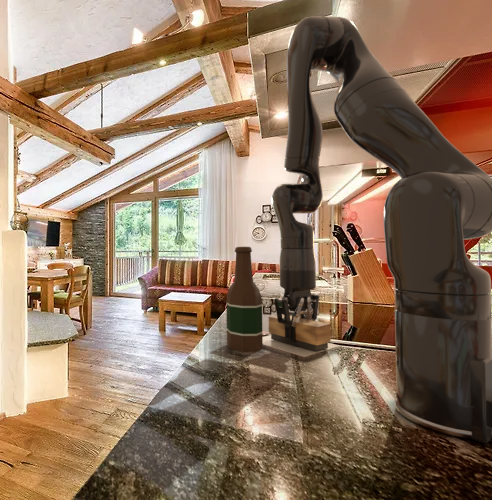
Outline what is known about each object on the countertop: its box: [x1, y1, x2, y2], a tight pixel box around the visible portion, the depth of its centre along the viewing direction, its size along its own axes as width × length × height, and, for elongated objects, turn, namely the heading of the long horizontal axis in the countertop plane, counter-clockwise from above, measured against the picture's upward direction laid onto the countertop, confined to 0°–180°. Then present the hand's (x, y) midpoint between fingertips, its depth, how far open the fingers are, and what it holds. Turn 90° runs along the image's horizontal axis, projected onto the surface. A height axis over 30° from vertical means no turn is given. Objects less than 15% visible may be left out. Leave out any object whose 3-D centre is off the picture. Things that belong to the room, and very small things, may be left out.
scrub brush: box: [268, 314, 332, 352], centre depth 70 cm, size 12×5×6 cm, turn 30°
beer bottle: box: [226, 246, 264, 353], centre depth 69 cm, size 8×8×24 cm
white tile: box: [263, 334, 340, 358], centre depth 71 cm, size 14×14×1 cm
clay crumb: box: [262, 330, 271, 337], centre depth 80 cm, size 4×4×1 cm
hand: (298, 339), depth 70 cm, fingers closed on scrub brush, 5 cm apart
